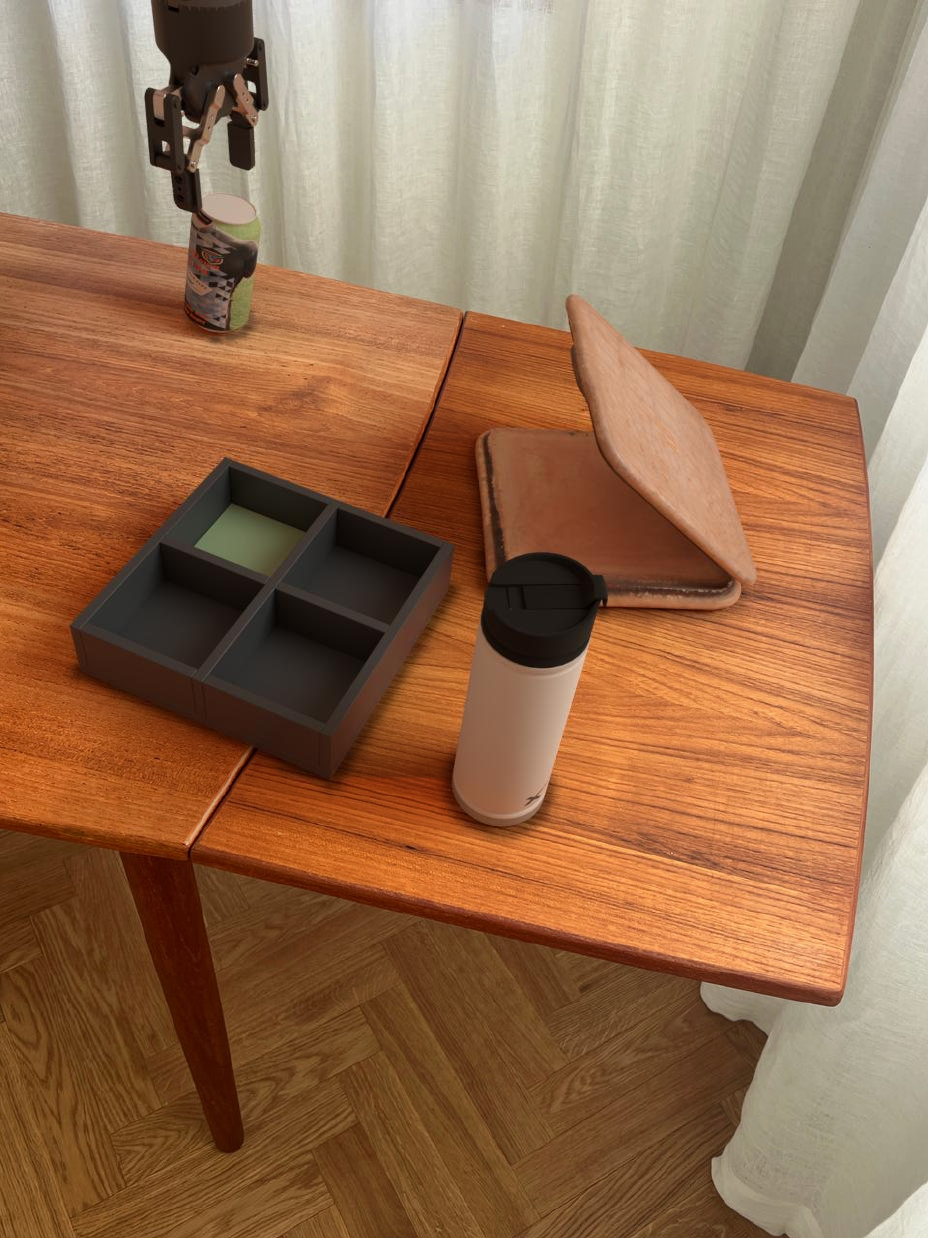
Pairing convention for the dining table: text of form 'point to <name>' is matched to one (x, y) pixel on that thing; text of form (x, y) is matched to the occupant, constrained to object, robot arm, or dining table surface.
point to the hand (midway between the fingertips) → (216, 187)
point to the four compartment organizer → (267, 614)
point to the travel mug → (523, 683)
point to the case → (619, 485)
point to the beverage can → (222, 262)
